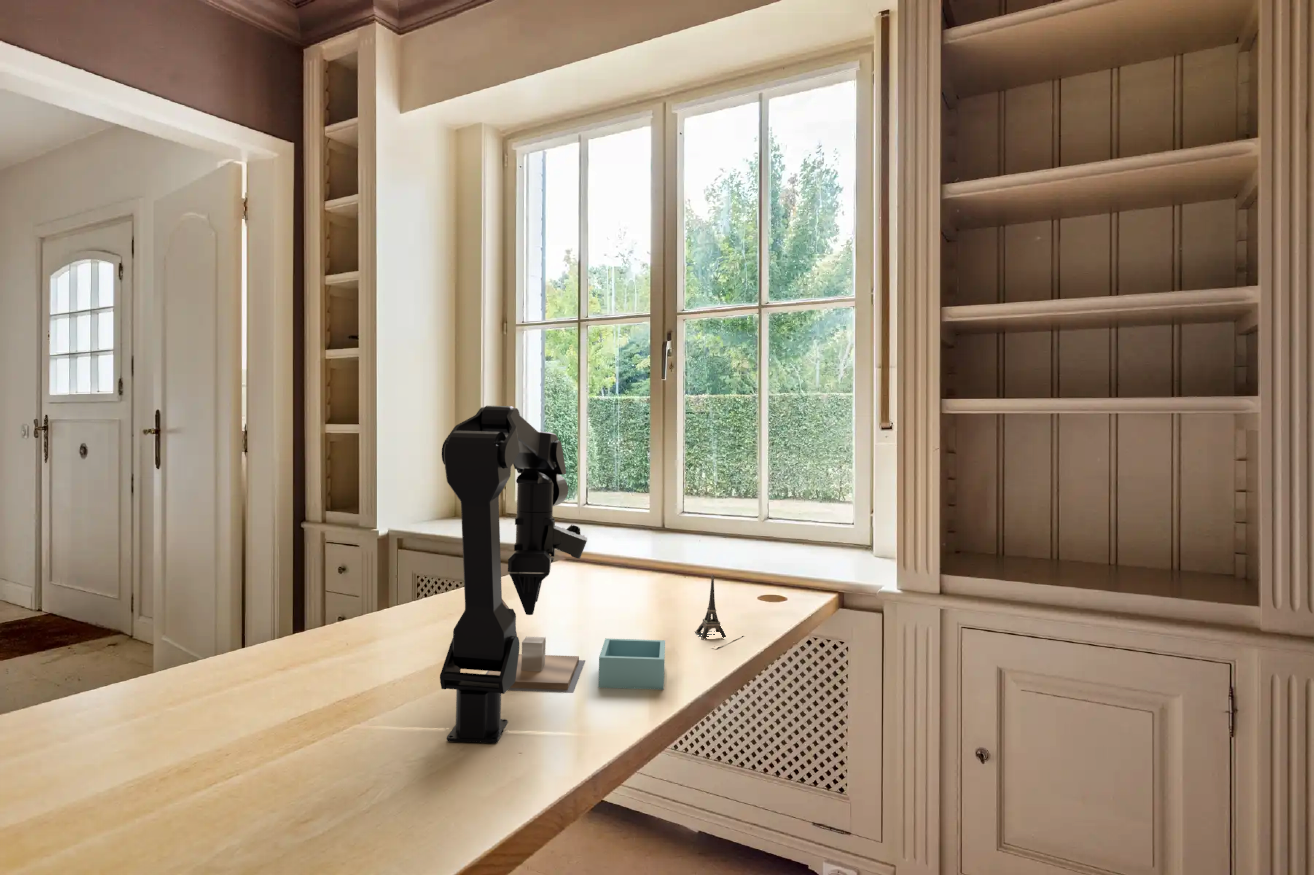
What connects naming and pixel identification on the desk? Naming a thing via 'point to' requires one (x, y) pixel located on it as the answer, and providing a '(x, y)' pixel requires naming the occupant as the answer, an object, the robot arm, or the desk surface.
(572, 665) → the lid
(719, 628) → the eiffel tower figurine
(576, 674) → the mat
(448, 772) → the desk surface
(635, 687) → the dish
